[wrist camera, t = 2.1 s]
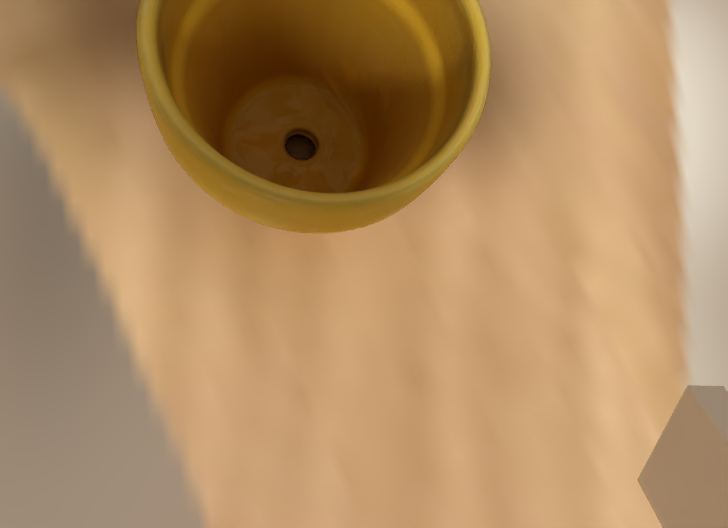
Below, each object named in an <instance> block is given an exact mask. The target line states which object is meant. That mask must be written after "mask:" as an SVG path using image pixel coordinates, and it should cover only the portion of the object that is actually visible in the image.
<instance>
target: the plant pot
mask: <svg viewBox="0 0 728 528" xmlns="http://www.w3.org/2000/svg"><path fill="white" fill-rule="evenodd" d="M136 34H137V50H138V58H139V64H140V69H141V74H142V78H143V82H144V86H145V90H146V93H147V96H148V100H149V103H150V106H151V109H152V112H153V115H154V117H155V120H156V122H157V125H158V127H159V129H160V131H161V134H162V136H163V138H164V140H165V142H166V144H167V146H168V147H169V149H170V151H171V153H172V154H173V156H174V157H175V159H176V160H177V161H178V163H179V164H180V166H181V167H182V168H183V169H184V170H185V171H186V173H187V174H188V175H189V176H190V177H191V178H192V179H193V180H194V182H195V183H196V184H197V185H198V186H200V187H201V188H202V189H203V190H204V191H205V192H206V193H208V194H209V195H210V196H211V197H213V198H214V199H215V200H217V201H218V202H220V203H221V204H222V205H224V206H226V207H227V208H229V209H231V210H232V211H234V212H236V213H238V214H240V215H242V216H244V217H246V218H248V219H250V220H253V221H255V222H258V223H261V224H264V225H267V226H271V227H274V228H278V229H283V230H288V231H294V232H302V233H334V232H343V231H348V230H353V229H357V228H361V227H365V226H368V225H371V224H374V223H376V222H379V221H381V220H383V219H385V218H387V217H389V216H391V215H393V214H395V213H396V212H398V211H399V210H401V209H402V208H404V207H405V206H407V205H408V204H409V203H411V202H412V201H413V200H414V199H416V198H417V197H418V196H419V195H420V194H422V193H423V192H424V191H425V190H426V189H427V188H428V187H429V186H430V185H431V184H432V183H433V182H434V181H435V180H436V179H438V178H439V176H440V175H441V174H442V173H443V172H444V171H445V170H446V169H447V168H448V167H449V166H450V164H451V163H452V162H453V161H454V160H455V158H456V157H457V156H458V155H459V153H460V152H461V151H462V149H463V148H464V147H465V145H466V144H467V142H468V141H469V139H470V137H471V136H472V134H473V132H474V130H475V128H476V126H477V123H478V121H479V119H480V117H481V114H482V111H483V108H484V105H485V101H486V98H487V93H488V87H489V80H490V70H491V50H490V41H489V34H488V30H487V25H486V21H485V17H484V14H483V12H482V9H481V6H480V3H479V1H478V0H140V3H139V9H138V16H137V31H136ZM295 134H301V135H304V136H307V137H308V138H309V139H311V140H312V142H313V143H314V145H315V154H314V155H313V156H312V157H311V158H310V159H308V160H297V159H294V158H292V157H291V156H290V155H289V154H288V153H287V151H286V149H285V143H286V140H287V139H288V138H289V137H290V136H292V135H295Z"/></svg>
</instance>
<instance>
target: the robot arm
mask: <svg viewBox="0 0 728 528" xmlns="http://www.w3.org/2000/svg"><path fill="white" fill-rule="evenodd" d="M638 482H639V484H640V486H641V488H642V489H643V491H644V493H645V495H646V497H647V499H648V501H649V503H650V504H651V506H652V508H653V510H654V512H655V514H656V516H657V518H658V519H659V521H660V523H661V525H662V527H663V528H728V392H727V390H726V389H725V388H724V387H723V386H687V388H686V389H685V391H684V393H683V395H682V397H681V399H680V401H679V403H678V404H677V406H676V408H675V410H674V412H673V414H672V416H671V418H670V420H669V421H668V423H667V425H666V427H665V429H664V431H663V433H662V435H661V437H660V438H659V440H658V442H657V444H656V446H655V448H654V450H653V452H652V453H651V455H650V457H649V459H648V461H647V463H646V465H645V467H644V469H643V470H642V472H641V474H640V476H639V478H638Z"/></svg>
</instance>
